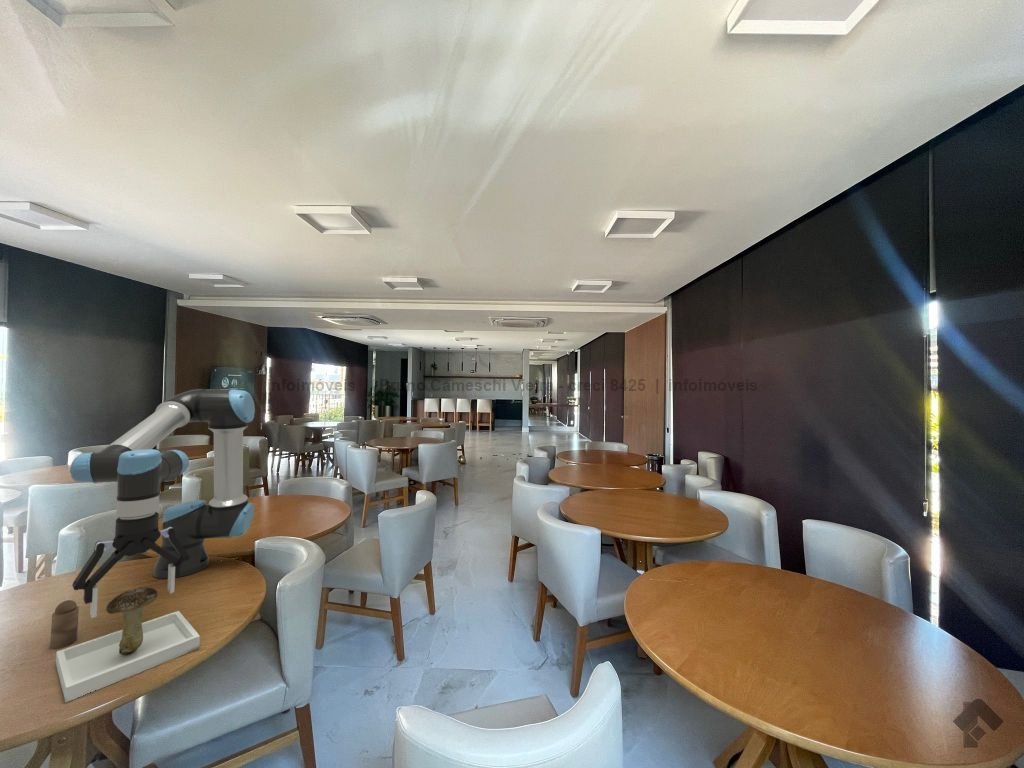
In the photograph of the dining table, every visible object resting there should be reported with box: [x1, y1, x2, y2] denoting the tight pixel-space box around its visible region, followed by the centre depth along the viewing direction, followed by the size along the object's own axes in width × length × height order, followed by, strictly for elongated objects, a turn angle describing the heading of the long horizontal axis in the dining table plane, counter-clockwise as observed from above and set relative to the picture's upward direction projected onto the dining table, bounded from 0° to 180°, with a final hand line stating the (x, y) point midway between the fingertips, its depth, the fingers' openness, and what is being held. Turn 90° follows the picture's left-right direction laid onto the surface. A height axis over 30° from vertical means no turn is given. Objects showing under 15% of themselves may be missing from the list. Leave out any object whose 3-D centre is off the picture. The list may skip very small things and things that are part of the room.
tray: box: [55, 610, 201, 704], centre depth 93 cm, size 22×18×3 cm
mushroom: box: [105, 586, 158, 655], centre depth 93 cm, size 9×9×15 cm
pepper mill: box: [49, 599, 80, 650], centre depth 97 cm, size 4×4×10 cm
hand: (134, 602), depth 94 cm, fingers open, 13 cm apart
